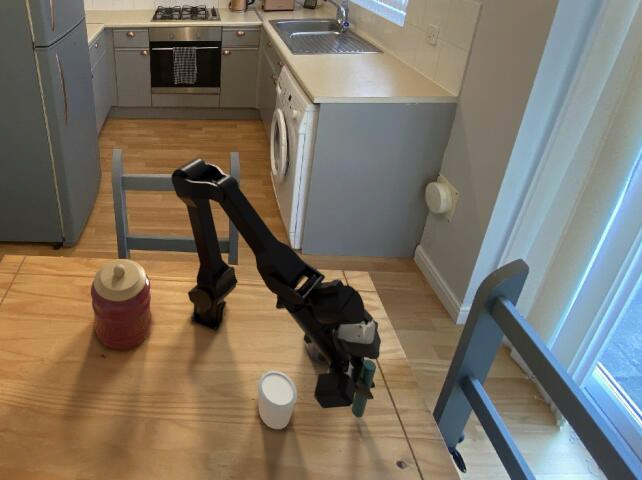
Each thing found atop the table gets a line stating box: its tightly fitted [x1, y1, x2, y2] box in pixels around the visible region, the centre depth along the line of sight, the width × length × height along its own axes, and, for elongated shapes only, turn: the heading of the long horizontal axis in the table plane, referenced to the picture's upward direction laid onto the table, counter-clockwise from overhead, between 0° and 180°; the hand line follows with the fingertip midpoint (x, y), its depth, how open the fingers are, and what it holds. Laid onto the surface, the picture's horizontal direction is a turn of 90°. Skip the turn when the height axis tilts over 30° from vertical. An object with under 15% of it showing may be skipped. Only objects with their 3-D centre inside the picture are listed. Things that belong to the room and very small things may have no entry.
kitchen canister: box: [90, 258, 152, 351], centre depth 93 cm, size 13×13×18 cm
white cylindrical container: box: [257, 370, 298, 430], centre depth 77 cm, size 7×7×7 cm
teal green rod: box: [351, 358, 377, 418], centre depth 75 cm, size 2×2×13 cm
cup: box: [304, 342, 330, 365], centre depth 89 cm, size 7×7×6 cm
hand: (371, 392), depth 74 cm, fingers closed on teal green rod, 2 cm apart
